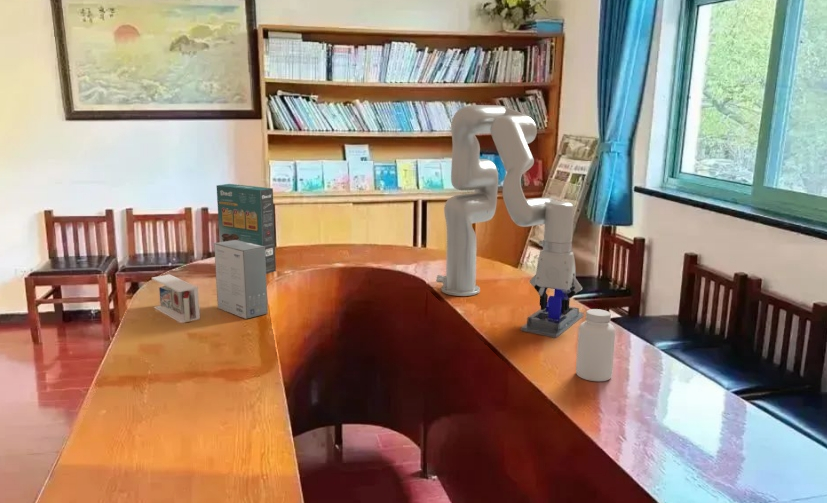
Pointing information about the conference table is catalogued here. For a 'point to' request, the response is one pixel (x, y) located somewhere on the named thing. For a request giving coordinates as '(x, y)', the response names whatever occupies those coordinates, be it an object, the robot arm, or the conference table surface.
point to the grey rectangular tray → (551, 322)
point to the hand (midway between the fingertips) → (554, 309)
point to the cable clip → (555, 305)
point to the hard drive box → (241, 278)
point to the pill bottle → (595, 346)
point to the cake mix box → (248, 217)
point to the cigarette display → (178, 299)
